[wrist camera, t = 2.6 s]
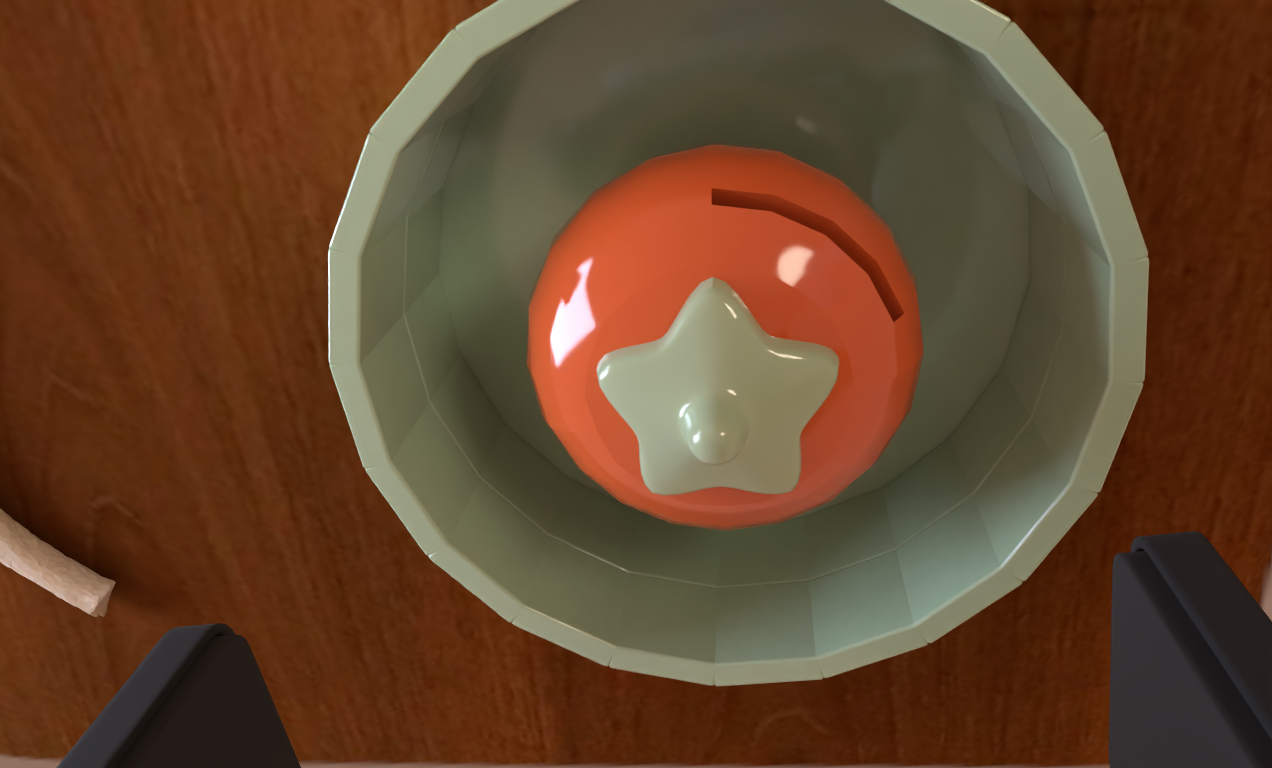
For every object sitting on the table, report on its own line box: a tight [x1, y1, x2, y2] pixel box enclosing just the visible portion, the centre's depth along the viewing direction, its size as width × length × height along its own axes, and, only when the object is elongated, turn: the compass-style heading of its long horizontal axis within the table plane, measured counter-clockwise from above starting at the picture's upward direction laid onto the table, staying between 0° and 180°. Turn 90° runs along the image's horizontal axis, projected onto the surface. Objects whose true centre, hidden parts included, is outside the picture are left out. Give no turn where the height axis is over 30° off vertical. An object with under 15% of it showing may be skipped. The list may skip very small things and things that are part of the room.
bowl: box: [328, 0, 1149, 686], centre depth 20 cm, size 14×14×6 cm
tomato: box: [527, 142, 924, 531], centre depth 18 cm, size 7×7×8 cm
